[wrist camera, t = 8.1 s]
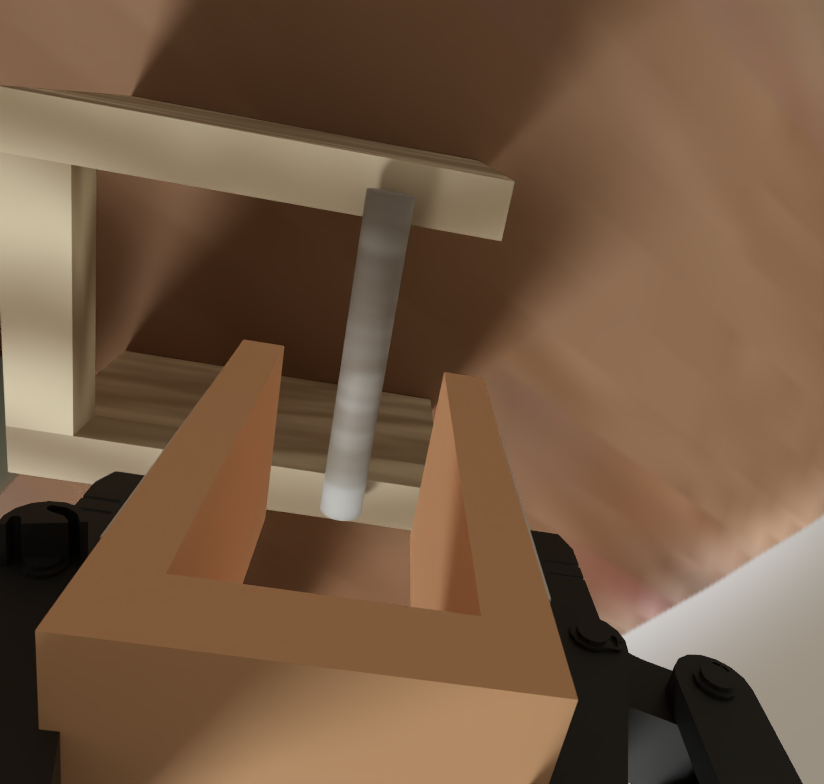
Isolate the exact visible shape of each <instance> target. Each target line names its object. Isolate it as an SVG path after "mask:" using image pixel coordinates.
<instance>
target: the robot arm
mask: <svg viewBox="0 0 824 784" xmlns="http://www.w3.org/2000/svg"><path fill="white" fill-rule="evenodd" d="M207 390H208V389H207ZM205 393H206V392H205ZM202 397H203V396H202ZM200 400H201V399H200ZM200 400H199V401H200ZM197 404H198V403H197ZM197 404H196V405H197ZM195 407H196V406H195ZM195 407H194V408H195ZM192 411H193V410H192ZM192 411H191V412H192ZM190 414H191V413H190ZM190 414H189V415H190ZM189 415H188V416H189ZM187 418H188V417H187ZM187 418H186V419H187ZM185 421H186V420H185ZM185 421H184V422H185ZM184 422H183V423H184ZM182 425H183V424H182ZM182 425H181V426H182ZM181 426H180V428H181ZM180 428H179V429H180ZM179 429H178V430H179ZM177 432H178V431H177ZM177 432H176V433H177ZM176 433H175V435H176ZM175 435H174V436H175ZM174 436H173V437H174ZM173 437H172V439H173ZM500 437H501V440H502V443H503V439H502V436H501V434H500ZM172 439H171V440H172ZM171 440H170V442H171ZM170 442H169V443H170ZM169 443H168V444H169ZM168 444H167V446H168ZM167 446H166V447H167ZM166 447H165V448H164V450H165V449H166ZM503 447H504V450H505V454H506V457H507V460H508V464H509V467H510V470H511V474H512V477H513V481H514V484H515V487H516V491H517V494H518V498H519V501H520V504H521V508H522V511H523V514H524V518H525V521H526V525H527V528H528V531H529V535H530V538H531V542H532V545H533V548H534V552H535V555H536V558H537V562H538V565H539V569H540V572H541V575H542V579H543V582H544V586H545V589H546V592H547V596H548V599H549V602H550V606H551V609H552V613H553V616H554V619H555V623H556V626H557V630H558V633H559V636H560V640H561V643H562V646H563V650H564V653H565V657H566V660H567V663H568V667H569V670H570V674H571V677H572V680H573V684H574V687H575V690H576V694H577V697H578V702H577V705H576V708H575V711H574V714H573V716H572V719H571V722H570V725H569V728H568V731H567V734H566V736H565V739H564V742H563V745H562V748H561V751H560V753H559V756H558V759H557V762H556V765H555V768H554V771H553V773H552V776H551V779H550V782H549V784H628V782H629V783H631V784H803V783H802V782H801V780H800V778H799V776H798V774H797V772H796V771H795V768H794V767H793V765H792V763H791V761H790V759H789V757H788V755H787V754H786V752H785V750H784V748H783V746H782V744H781V742H780V740H779V739H778V737H777V735H776V733H775V731H774V729H773V727H772V725H771V724H770V722H769V720H768V718H767V716H766V714H765V712H764V710H763V709H762V707H761V705H760V703H759V701H758V699H757V697H756V696H755V694H754V692H753V690H752V689H751V687H750V686H749V685H748V683H747V682H746V681H745V679H744V678H743V677H742V676H740V675H739V674H738V673H737V672H735V671H734V670H733V669H732V668H730V667H729V666H727V665H725V664H724V663H721V662H719V661H718V660H715V659H712V658H709V657H706V656H702V655H686V656H684V657H681V658H679V659H678V661H677V662H676V664H675V666H674V668H673V671H671V670H668V669H666V668H663V667H660V666H658V665H655V664H652V663H650V662H647V661H644V660H642V659H640V658H638V657H635V656H633V655H632V654H630V653H628V649H627V645H626V642H625V640H624V639H623V637H622V636H621V635H620V634H619V632H618V631H617V630H615V629H614V628H613V627H612V626H610V625H609V624H608V623H606V622H604V621H602V620H600V618H599V616H598V613H597V611H596V608H595V606H594V603H593V600H592V598H591V595H590V593H589V590H588V588H587V585H586V582H585V580H583V575H582V572H581V570H580V568H578V562H577V559H576V557H575V554H574V552H573V549H572V548H571V547H570V546H569V545H568V544H567V543H566V542H565V541H564V540H563V539H562V538H561V537H560V536H559V535H558V534H552V533H545V532H538V531H532V530H530V528H529V525H528V522H527V518H526V515H525V512H524V508H523V505H522V502H521V499H520V495H519V492H518V489H517V485H516V482H515V479H514V476H513V472H512V469H511V466H510V462H509V459H508V456H507V453H506V449H505V446H504V443H503ZM164 450H163V451H164ZM163 451H162V452H161V454H162V453H163ZM161 454H160V455H161ZM160 455H159V457H160ZM159 457H158V458H159ZM158 458H157V459H156V461H157V460H158ZM156 461H155V462H156ZM155 462H154V463H153V465H154V464H155ZM153 465H152V466H151V468H152V467H153ZM151 468H150V469H151ZM150 469H149V470H148V472H149V471H150ZM148 472H147V473H146V474H145V475H139V474H132V473H125V472H118V471H115V472H113V473H111V474H109V475H107V476H105V477H103V478H101V479H99V480H97V481H95V482H94V484H93V485H92V486H91V487H90V488H89V489H88V491H87V492H86V493H85V494H84V496H83V498H81V499H80V500H79V501H78V502H77V504H76V505H75V506H74V505H71V504H69V503H65V502H53V501H47V502H37V503H31V504H27V505H24V506H21V507H18V508H15V509H13V510H12V511H10V512H8V513H7V514H5V515H3V517H2V518H1V519H0V784H61V761H60V732H58V731H50V730H41V729H39V718H38V692H37V666H36V641H35V630H36V629H37V627H38V626H39V624H40V623H41V622H42V620H43V619H44V617H45V616H46V615H47V613H48V612H49V610H50V609H51V608H52V606H53V605H54V603H55V602H56V601H57V599H58V598H59V596H60V595H61V594H62V592H63V591H64V590H65V588H66V587H67V585H68V584H69V583H70V581H71V580H72V578H73V577H74V576H75V574H76V573H77V571H78V570H79V569H80V567H81V566H82V564H83V563H84V562H85V560H86V559H87V557H88V556H89V555H90V553H91V552H92V550H93V549H94V548H95V546H96V545H97V543H98V542H99V541H100V539H101V538H102V536H103V535H104V534H105V532H106V531H107V529H108V528H109V527H110V525H111V524H112V522H113V521H114V520H115V518H116V517H117V516H118V514H119V513H120V511H121V510H122V509H123V507H124V506H125V504H126V503H127V502H128V500H129V499H130V497H131V496H132V495H133V493H134V492H135V490H136V489H137V488H138V486H139V485H140V483H141V482H142V481H143V479H144V478H145V476H146V475H147V474H148Z"/></svg>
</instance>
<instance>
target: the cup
mask: <svg viewBox="0 0 824 784" xmlns="http://www.w3.org/2000/svg"><path fill="white" fill-rule="evenodd" d="M18 475H19V474H18V473H11V472H8V463H7V442H6V420H5V399H4V378H3V357H2V356H1V355H0V495H1V494H2V493H3V492H4V491H5V490H6V489H7V488H8V487H9V485H10V484H11V483H12V482H13V481H14V480H15V479H16V478H17V476H18Z"/></svg>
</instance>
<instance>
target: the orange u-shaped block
mask: <svg viewBox="0 0 824 784" xmlns="http://www.w3.org/2000/svg"><path fill="white" fill-rule="evenodd" d="M283 355H284V346H282V345H275V344H269V343H263V342H257V341H251V340H243V341H242V342H241V344H240V345H239V347H238V348H237V349H236V351H235V352H234V354H233V355H232V356H231V358H230V359H229V361H228V362H227V363H226V365H225V366H224V368H223V369H222V370H221V372H220V373H219V375H218V376H217V377H216V379H215V380H214V382H213V383H212V384H211V386H210V387H209V388H208V390H207V391H206V393H205V394H204V395H203V397H202V398H201V400H200V401H199V402H198V404H197V405H196V407H195V408H194V409H193V411H192V412H191V414H190V415H189V416H188V418H187V419H186V421H185V422H184V423H183V425H182V426H181V428H180V429H179V430H178V432H177V433H176V435H175V436H174V437H173V439H172V440H171V442H170V443H169V444H168V446H167V447H166V449H165V450H164V451H163V453H162V454H161V455H160V457H159V458H158V460H157V461H156V462H155V464H154V465H153V467H152V468H151V469H150V471H149V472H148V474H147V475H146V476H145V478H144V479H143V481H142V482H141V483H140V485H139V486H138V488H137V489H136V490H135V492H134V493H133V495H132V496H131V497H130V499H129V500H128V502H127V503H126V504H125V506H124V507H123V509H122V510H121V511H120V513H119V514H118V516H117V517H116V518H115V520H114V521H113V522H112V524H111V525H110V527H109V528H108V529H107V531H106V532H105V534H104V535H103V536H102V538H101V539H100V541H99V542H98V543H97V545H96V546H95V548H94V549H93V550H92V552H91V553H90V555H89V556H88V557H87V559H86V560H85V562H84V563H83V564H82V566H81V567H80V569H79V570H78V571H77V573H76V574H75V576H74V577H73V578H72V580H71V581H70V583H69V584H68V585H67V587H66V588H65V590H64V591H63V592H62V594H61V595H60V596H59V598H58V599H57V601H56V602H55V603H54V605H53V606H52V608H51V609H50V610H49V612H48V613H47V615H46V616H45V617H44V619H43V620H42V622H41V623H40V624H39V626H38V627H37V629H36V630H35V641H36V666H37V692H38V718H39V729H41V730H50V731H58V732H60V761H61V784H549V782H550V779H551V776H552V773H553V771H554V768H555V765H556V762H557V759H558V756H559V753H560V751H561V748H562V745H563V742H564V739H565V736H566V734H567V731H568V728H569V725H570V722H571V719H572V716H573V714H574V711H575V708H576V705H577V702H578V697H577V694H576V690H575V687H574V684H573V680H572V677H571V674H570V670H569V667H568V663H567V660H566V657H565V653H564V650H563V646H562V643H561V640H560V636H559V633H558V630H557V626H556V623H555V619H554V616H553V613H552V609H551V606H550V602H549V599H548V596H547V592H546V589H545V586H544V582H543V579H542V575H541V572H540V569H539V565H538V562H537V558H536V555H535V552H534V548H533V545H532V542H531V538H530V535H529V531H528V528H527V525H526V521H525V518H524V514H523V511H522V508H521V504H520V501H519V498H518V494H517V491H516V487H515V484H514V481H513V477H512V474H511V470H510V467H509V464H508V460H507V457H506V454H505V450H504V447H503V443H502V440H501V437H500V433H499V430H498V426H497V423H496V420H495V416H494V413H493V410H492V406H491V403H490V399H489V396H488V393H487V389H486V386H485V382H484V379H483V378H479V377H473V376H467V375H461V374H455V373H449V372H444V375H443V380H442V385H441V390H440V394H439V399H438V404H437V409H436V414H435V419H434V424H433V428H432V433H431V438H430V443H429V448H428V453H427V458H426V463H425V467H424V472H423V477H422V482H421V487H420V492H419V497H418V501H417V506H416V511H415V516H414V521H413V526H412V531H411V536H410V595H411V607H409V606H402V605H395V604H387V603H380V602H372V601H365V600H358V599H350V598H343V597H336V596H328V595H321V594H313V593H306V592H299V591H291V590H284V589H277V588H269V587H262V586H254V585H247V584H243V581H244V578H245V575H246V573H247V570H248V567H249V564H250V561H251V558H252V555H253V552H254V549H255V547H256V544H257V541H258V538H259V535H260V532H261V529H262V526H263V523H264V521H265V517H266V508H267V499H268V490H269V481H270V472H271V463H272V454H273V445H274V436H275V427H276V418H277V409H278V400H279V391H280V382H281V373H282V364H283Z"/></svg>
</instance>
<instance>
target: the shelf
mask: <svg viewBox="0 0 824 784" xmlns="http://www.w3.org/2000/svg"><path fill="white" fill-rule="evenodd" d="M96 169H99V170H104V171H110V172H115V173H121V174H127V175H132V176H138V177H144V178H149V179H155V180H160V181H166V182H172V183H177V184H183V185H188V186H194V187H200V188H205V189H211V190H217V191H222V192H228V193H233V194H239V195H245V196H250V197H256V198H262V199H267V200H273V201H278V202H284V203H290V204H295V205H301V206H307V207H312V208H318V209H323V210H329V211H335V212H340V213H346V214H351V215H357V216H363V217H362V224H361V231H360V238H359V245H358V251H357V258H356V265H355V272H354V279H353V286H352V292H351V299H350V306H349V313H348V320H347V327H346V334H345V340H344V347H343V354H342V361H341V368H340V375H339V382H338V385H337V384H330V383H324V382H318V381H312V380H305V379H299V378H293V377H286V376H281V382H280V391H279V400H278V409H277V418H276V427H275V436H274V445H273V454H272V463H271V472H270V481H269V490H268V499H267V508H266V509H267V510H274V511H281V512H288V513H295V514H302V515H309V516H316V517H322V518H329V519H334V520H339V521H350V522H357V523H364V524H371V525H378V526H385V527H392V528H399V529H406V530H412V526H413V521H414V516H415V511H416V506H417V501H418V497H419V492H420V487H421V482H422V477H423V472H424V467H425V463H426V458H427V453H428V448H429V443H430V438H431V433H432V428H433V420H432V409H431V399H425V398H418V397H412V396H406V395H400V394H393V393H387V392H382V389H383V383H384V377H385V372H386V366H387V360H388V354H389V348H390V342H391V337H392V331H393V325H394V319H395V313H396V308H397V302H398V296H399V290H400V284H401V279H402V273H403V267H404V261H405V255H406V249H407V244H408V238H409V232H410V226H411V225H413V226H419V227H425V228H430V229H436V230H441V231H447V232H453V233H458V234H464V235H470V236H475V237H481V238H486V239H492V240H498V241H502V237H503V232H504V228H505V223H506V219H507V214H508V210H509V205H510V201H511V196H512V192H513V187H514V183H515V181H513V180H511V179H510V178H508V177H506V176H504V175H503V174H501V173H499V172H497V171H496V170H494V169H492V168H490V167H489V166H487V165H485V164H483V163H482V162H480V161H477V160H472V159H467V158H461V157H456V156H451V155H445V154H440V153H435V152H429V151H424V150H418V149H413V148H408V147H402V146H397V145H392V144H386V143H381V142H376V141H370V140H365V139H359V138H354V137H349V136H343V135H338V134H333V133H327V132H322V131H316V130H311V129H306V128H300V127H295V126H290V125H284V124H279V123H274V122H268V121H263V120H257V119H252V118H247V117H241V116H236V115H231V114H225V113H220V112H215V111H209V110H204V109H198V108H193V107H188V106H182V105H177V104H172V103H166V102H161V101H155V100H150V99H145V98H139V97H134V96H126V95H114V94H101V93H89V92H76V91H64V90H52V89H39V88H27V87H15V86H2V85H0V315H1V336H2V357H3V378H4V399H5V420H6V442H7V463H8V472H11V473H18V474H25V475H32V476H39V477H46V478H53V479H59V480H66V481H73V482H80V483H87V484H94V482H95V481H97V480H99V479H101V478H103V477H105V476H107V475H109V474H111V473H113V472H115V471H118V472H125V473H132V474H139V475H145V474H146V473H147V472H148V470H149V469H150V468H151V466H152V465H153V463H154V462H155V461H156V459H157V458H158V457H159V455H160V454H161V452H162V451H163V450H164V448H165V447H166V446H167V444H168V443H169V442H170V440H171V439H172V437H173V436H174V435H175V433H176V432H177V431H178V429H179V428H180V426H181V425H182V424H183V422H184V421H185V420H186V418H187V417H188V415H189V414H190V413H191V411H192V410H193V409H194V407H195V406H196V404H197V403H198V402H199V400H200V399H201V398H202V396H203V395H204V394H205V392H206V391H207V389H208V388H209V387H210V386H211V384H212V383H213V382H214V380H215V379H216V377H217V376H218V375H219V373H220V372H221V370H222V369H223V368H224V366H217V365H211V364H205V363H198V362H192V361H186V360H180V359H173V358H167V357H161V356H154V355H148V354H142V353H136V352H129V351H124V352H123V353H122V354H121V355H119V356H118V357H117V358H116V359H115V360H113V361H112V362H111V363H110V364H109V365H107V366H106V367H105V368H104V369H103V370H101V371H100V372H99V373H98V374H97V375H95V344H96Z"/></svg>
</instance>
